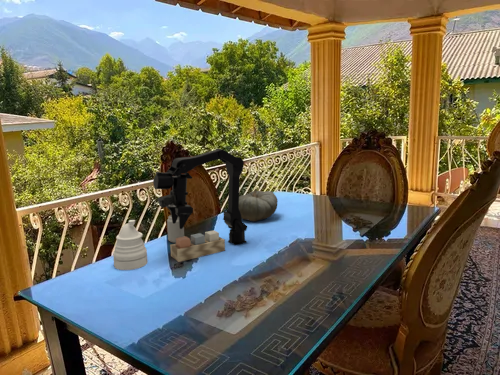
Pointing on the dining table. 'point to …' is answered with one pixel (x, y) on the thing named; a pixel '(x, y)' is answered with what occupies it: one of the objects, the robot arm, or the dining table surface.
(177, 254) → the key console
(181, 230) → the can
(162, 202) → the robot arm
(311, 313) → the dining table surface
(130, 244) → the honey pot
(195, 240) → the slate key
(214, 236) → the ivory key
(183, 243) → the salmon rounded block
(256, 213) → the gourd
